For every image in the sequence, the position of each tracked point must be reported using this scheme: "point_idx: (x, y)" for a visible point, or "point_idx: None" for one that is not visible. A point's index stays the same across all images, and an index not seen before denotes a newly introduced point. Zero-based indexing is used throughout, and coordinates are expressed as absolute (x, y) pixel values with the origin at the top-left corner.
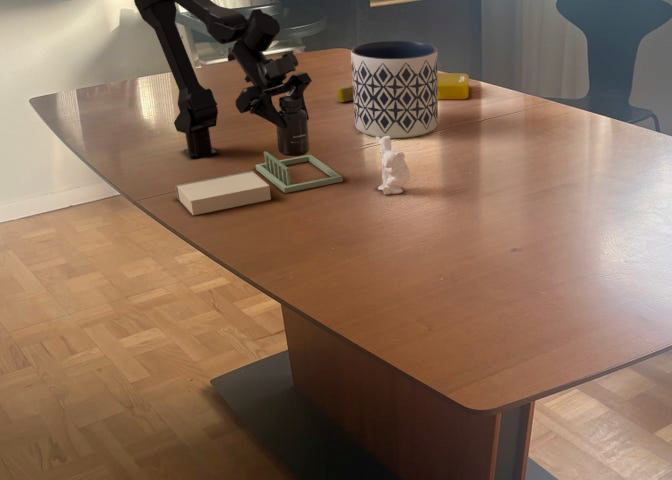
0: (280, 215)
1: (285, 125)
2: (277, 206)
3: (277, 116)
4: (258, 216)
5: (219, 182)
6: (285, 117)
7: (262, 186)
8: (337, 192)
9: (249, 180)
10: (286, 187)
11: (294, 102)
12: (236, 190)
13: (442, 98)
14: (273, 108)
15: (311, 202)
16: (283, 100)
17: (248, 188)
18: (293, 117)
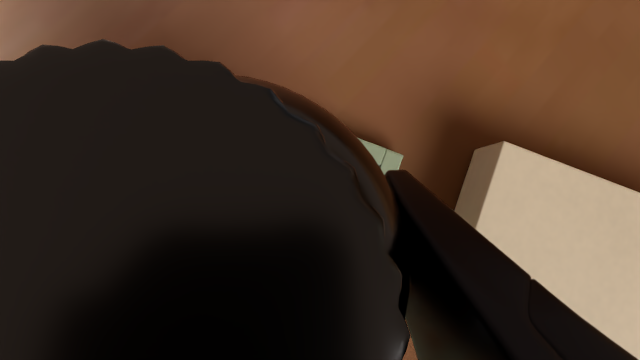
0: (546, 13)
1: (393, 173)
2: (500, 82)
3: (486, 241)
4: (600, 66)
5: (619, 342)
6: (387, 186)
7: (529, 155)
8: (264, 5)
9: (519, 258)
10: (395, 152)
11: (217, 71)
12: (629, 204)
13: None
14: (551, 349)
15: (397, 12)
16: (384, 304)
17: (581, 184)
18: (318, 108)
